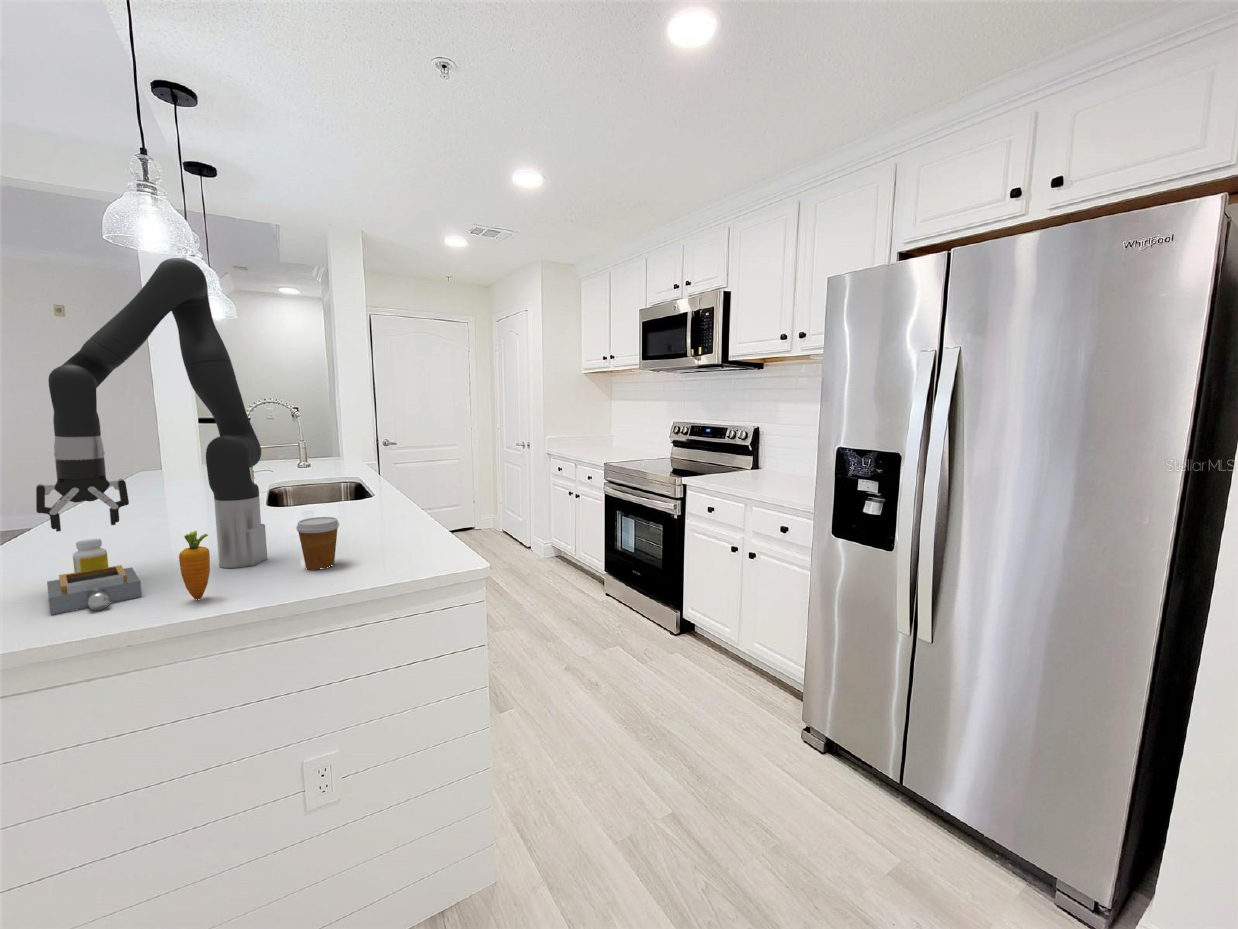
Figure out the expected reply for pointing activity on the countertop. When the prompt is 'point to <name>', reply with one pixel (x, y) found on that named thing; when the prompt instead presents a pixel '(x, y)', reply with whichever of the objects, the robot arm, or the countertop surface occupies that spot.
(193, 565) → the carrot
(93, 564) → the supplement bottle
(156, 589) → the countertop surface
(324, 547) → the disposable coffee cup
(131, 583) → the grey drawer
